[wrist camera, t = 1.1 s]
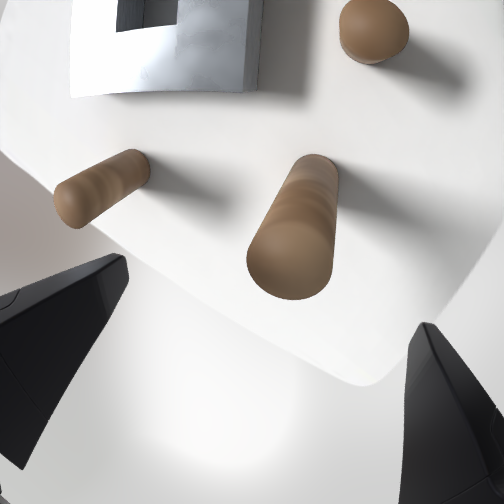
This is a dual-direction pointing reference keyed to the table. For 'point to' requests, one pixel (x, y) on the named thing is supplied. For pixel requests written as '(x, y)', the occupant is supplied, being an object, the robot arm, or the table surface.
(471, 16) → the table surface
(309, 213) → the long dowel
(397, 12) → the short dowel
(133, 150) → the medium dowel
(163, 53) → the hole plate
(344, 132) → the table surface
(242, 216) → the table surface
